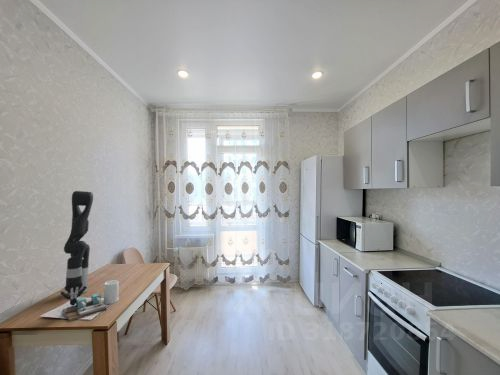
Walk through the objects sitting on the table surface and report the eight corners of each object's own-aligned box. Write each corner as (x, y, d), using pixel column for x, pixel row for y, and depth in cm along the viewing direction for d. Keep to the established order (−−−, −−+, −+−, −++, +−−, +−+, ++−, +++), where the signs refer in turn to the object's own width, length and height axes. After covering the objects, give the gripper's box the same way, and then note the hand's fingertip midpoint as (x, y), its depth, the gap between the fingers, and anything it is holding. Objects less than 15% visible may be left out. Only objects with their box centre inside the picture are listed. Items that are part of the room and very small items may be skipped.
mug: (109, 296, 158) (109, 278, 159) (122, 295, 159) (123, 278, 160) (100, 304, 147) (101, 285, 147) (115, 303, 148) (116, 284, 148)
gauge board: (62, 311, 137) (63, 306, 137) (98, 301, 150) (98, 296, 151) (69, 321, 126) (69, 315, 126) (106, 309, 140) (106, 304, 140)
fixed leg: (91, 302, 145) (91, 294, 145) (98, 300, 148) (98, 292, 148) (96, 308, 139) (96, 299, 139) (103, 305, 142) (104, 297, 142)
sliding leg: (75, 307, 139) (76, 298, 140) (83, 305, 142) (84, 296, 143) (80, 313, 133) (80, 304, 133) (88, 310, 136) (88, 301, 136)
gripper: (85, 271, 145) (84, 299, 144) (58, 276, 135) (57, 306, 134) (89, 273, 140) (88, 303, 139) (61, 279, 130) (59, 311, 129)
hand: (72, 304), depth 137 cm, fingers closed
